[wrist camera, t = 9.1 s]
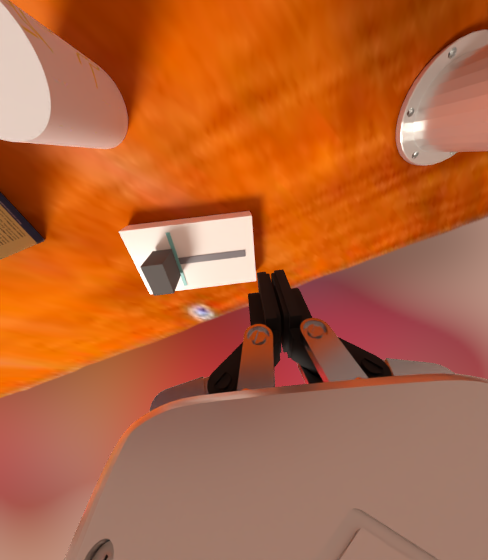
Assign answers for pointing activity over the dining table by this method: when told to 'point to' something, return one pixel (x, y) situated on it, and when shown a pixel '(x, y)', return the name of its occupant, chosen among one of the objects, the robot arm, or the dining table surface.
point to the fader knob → (161, 272)
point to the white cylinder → (53, 89)
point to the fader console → (198, 248)
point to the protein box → (15, 230)
